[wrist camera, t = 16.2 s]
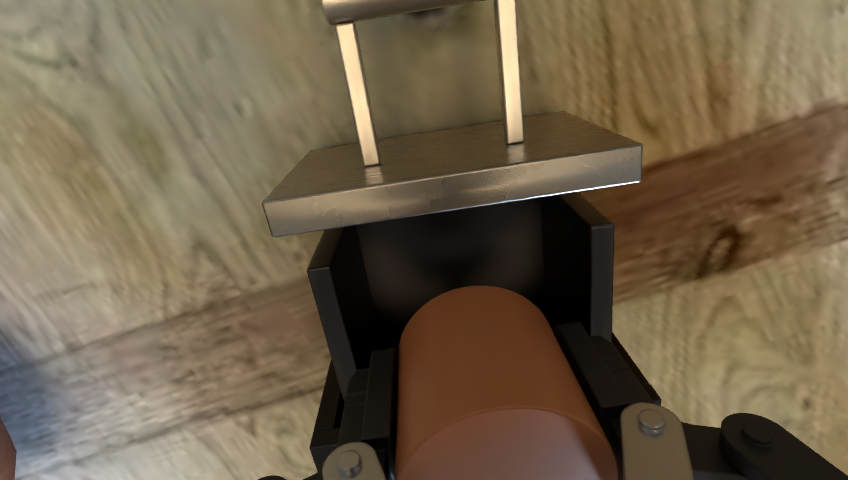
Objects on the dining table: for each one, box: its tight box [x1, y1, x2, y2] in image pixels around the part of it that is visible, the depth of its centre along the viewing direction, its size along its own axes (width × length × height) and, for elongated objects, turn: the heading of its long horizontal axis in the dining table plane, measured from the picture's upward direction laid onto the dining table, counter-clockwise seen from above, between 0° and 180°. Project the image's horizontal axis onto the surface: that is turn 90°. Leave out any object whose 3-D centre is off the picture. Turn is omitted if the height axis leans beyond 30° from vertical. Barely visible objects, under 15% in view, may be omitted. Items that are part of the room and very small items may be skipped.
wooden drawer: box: [262, 0, 643, 404], centre depth 18 cm, size 19×11×7 cm, turn 8°
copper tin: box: [394, 286, 618, 480], centre depth 12 cm, size 5×5×5 cm
